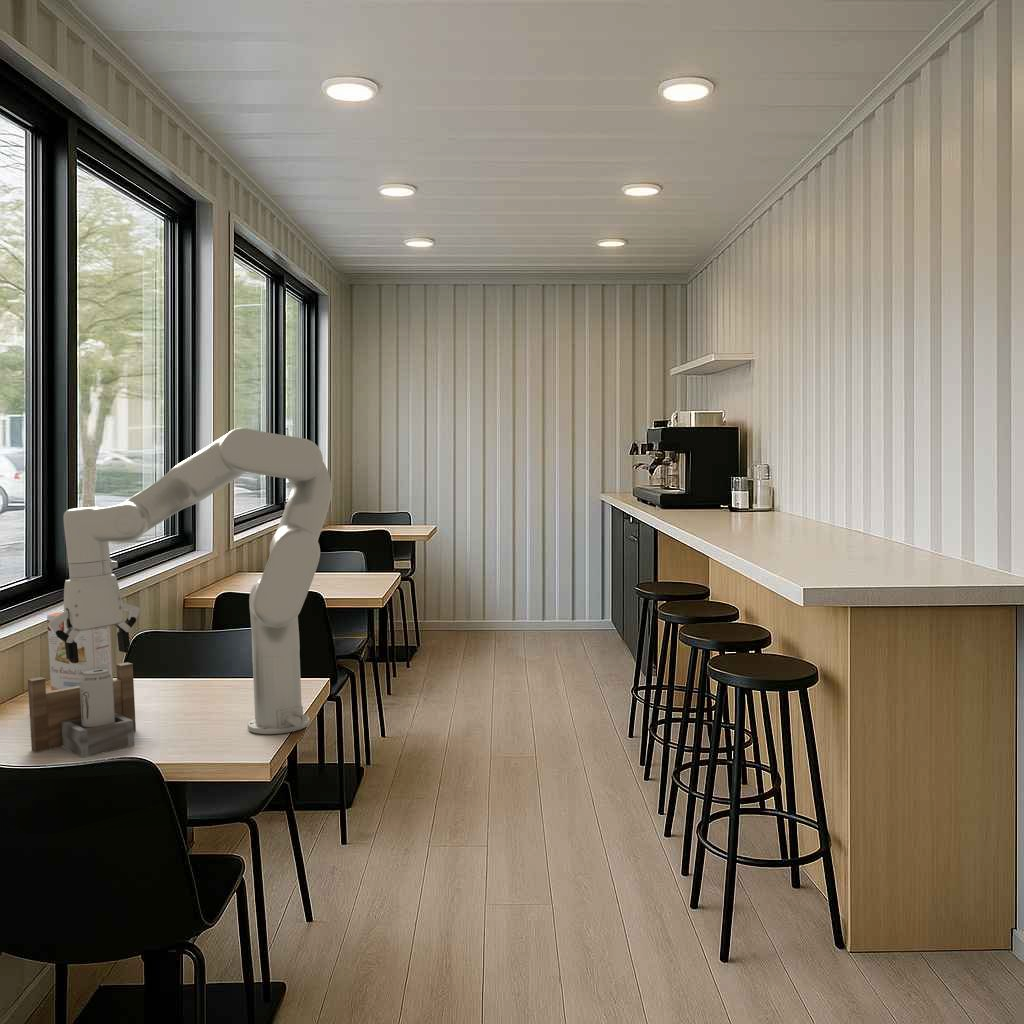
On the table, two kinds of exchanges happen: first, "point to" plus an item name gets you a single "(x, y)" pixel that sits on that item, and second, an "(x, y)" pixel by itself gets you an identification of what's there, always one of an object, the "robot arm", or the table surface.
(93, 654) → the cracker box
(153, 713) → the table surface
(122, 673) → the wooden holder with tray
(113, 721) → the energy drink can
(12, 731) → the table surface
